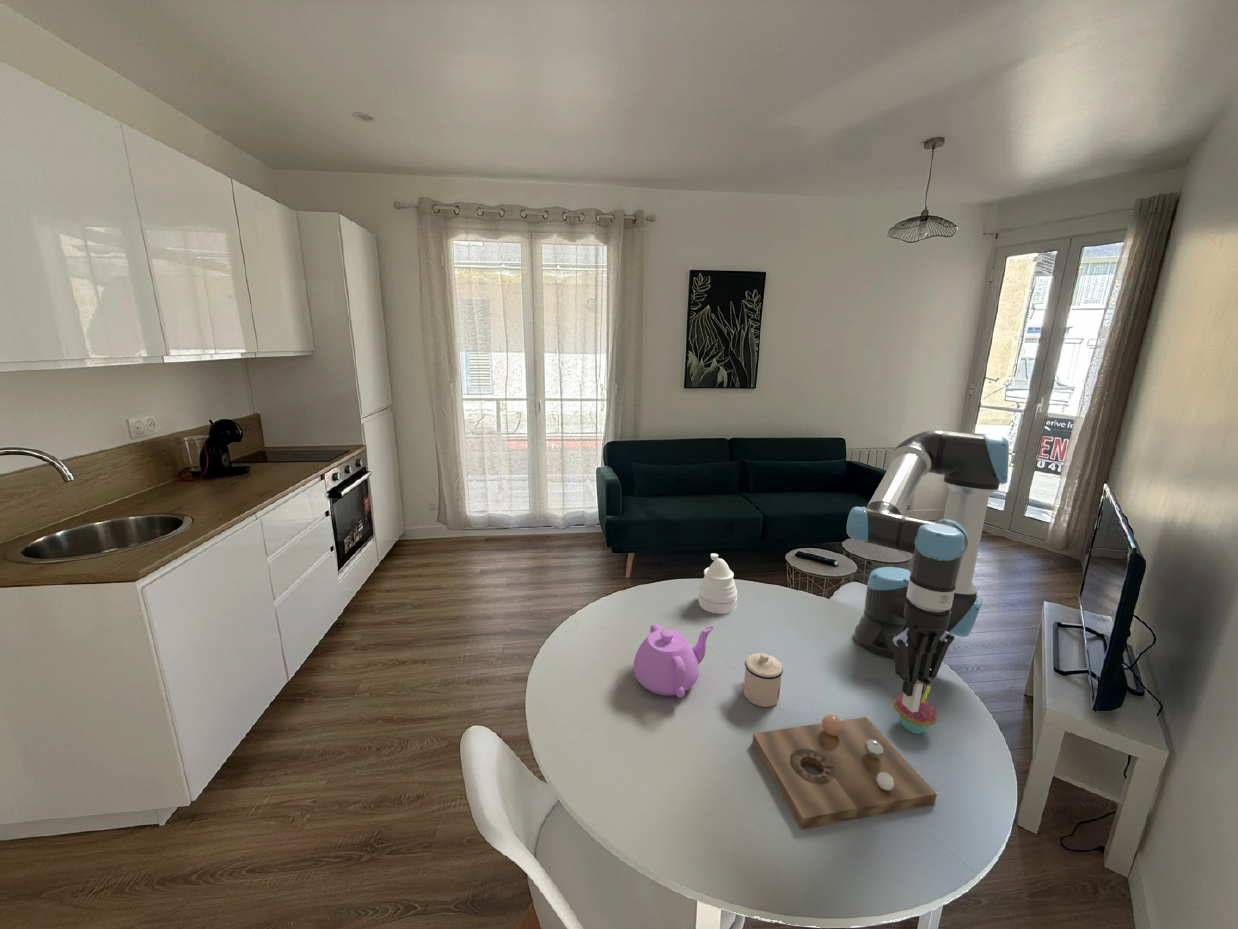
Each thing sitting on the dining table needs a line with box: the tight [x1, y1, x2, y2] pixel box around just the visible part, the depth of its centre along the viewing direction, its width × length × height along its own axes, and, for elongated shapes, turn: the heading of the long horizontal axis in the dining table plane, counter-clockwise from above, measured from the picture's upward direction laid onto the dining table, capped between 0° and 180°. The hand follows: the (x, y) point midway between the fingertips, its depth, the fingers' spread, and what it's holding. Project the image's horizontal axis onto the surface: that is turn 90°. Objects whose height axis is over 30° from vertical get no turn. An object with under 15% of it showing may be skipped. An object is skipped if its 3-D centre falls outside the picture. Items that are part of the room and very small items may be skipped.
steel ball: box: [865, 739, 884, 759], centre depth 99 cm, size 4×4×4 cm
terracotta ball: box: [821, 714, 843, 736], centre depth 105 cm, size 4×4×4 cm
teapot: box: [632, 623, 715, 698], centre depth 125 cm, size 22×22×14 cm
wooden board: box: [752, 716, 937, 830], centre depth 99 cm, size 28×20×2 cm
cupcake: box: [893, 683, 938, 734], centre depth 110 cm, size 9×8×12 cm
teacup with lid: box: [743, 653, 784, 708], centre depth 121 cm, size 12×9×12 cm
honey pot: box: [698, 552, 738, 615], centre depth 162 cm, size 13×13×18 cm
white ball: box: [876, 772, 894, 791], centre depth 92 cm, size 3×3×3 cm
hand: (909, 707), depth 98 cm, fingers closed
